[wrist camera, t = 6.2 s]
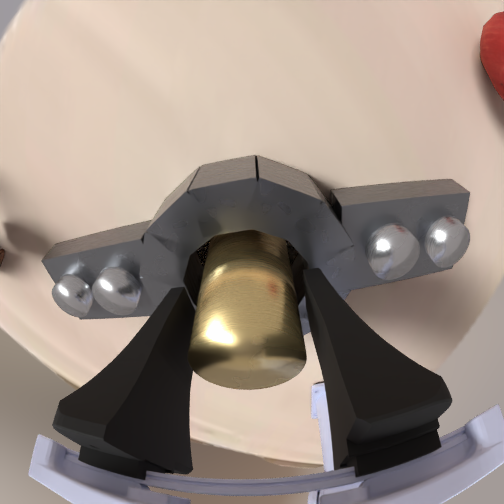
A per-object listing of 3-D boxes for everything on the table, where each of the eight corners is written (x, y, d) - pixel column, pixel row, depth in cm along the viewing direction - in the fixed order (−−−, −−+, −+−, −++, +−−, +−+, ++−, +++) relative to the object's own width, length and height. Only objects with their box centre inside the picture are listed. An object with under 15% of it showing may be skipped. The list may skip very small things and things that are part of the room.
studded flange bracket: (431, 277, 16) (451, 307, 13) (103, 321, 18) (90, 352, 16) (454, 141, 11) (490, 160, 8) (40, 214, 13) (13, 241, 10)
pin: (286, 273, 15) (303, 385, 10) (216, 279, 16) (203, 390, 10) (284, 210, 13) (310, 322, 7) (203, 217, 13) (172, 329, 8)
